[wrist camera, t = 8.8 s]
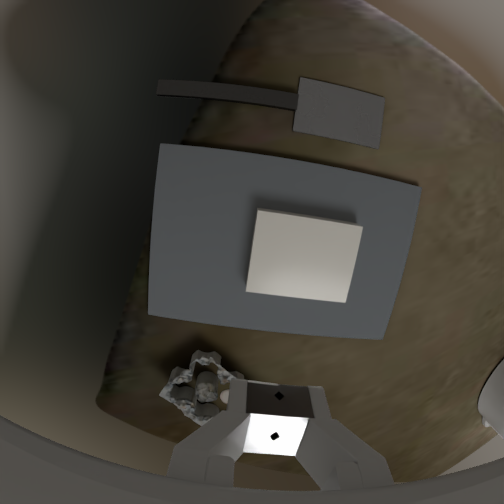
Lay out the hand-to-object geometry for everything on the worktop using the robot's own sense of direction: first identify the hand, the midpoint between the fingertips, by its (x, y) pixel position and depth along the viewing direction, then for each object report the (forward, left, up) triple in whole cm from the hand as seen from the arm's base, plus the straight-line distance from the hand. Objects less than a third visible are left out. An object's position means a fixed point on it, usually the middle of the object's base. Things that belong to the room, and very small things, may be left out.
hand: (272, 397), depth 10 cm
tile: (0, 0, -18) cm, 18 cm away
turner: (0, -13, -20) cm, 24 cm away
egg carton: (+2, +17, -20) cm, 26 cm away
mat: (-3, 0, -20) cm, 20 cm away
